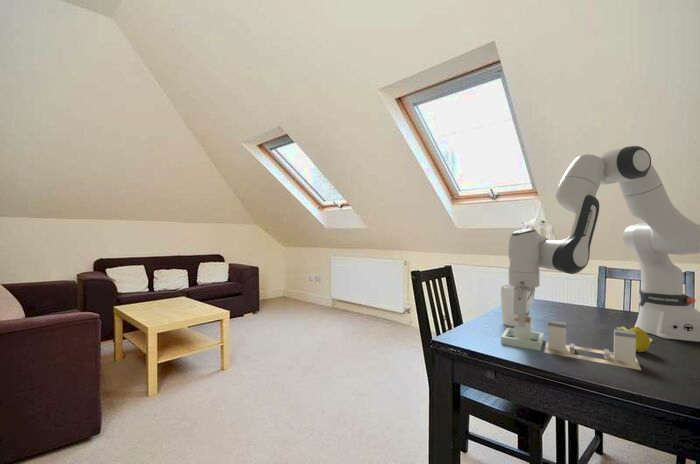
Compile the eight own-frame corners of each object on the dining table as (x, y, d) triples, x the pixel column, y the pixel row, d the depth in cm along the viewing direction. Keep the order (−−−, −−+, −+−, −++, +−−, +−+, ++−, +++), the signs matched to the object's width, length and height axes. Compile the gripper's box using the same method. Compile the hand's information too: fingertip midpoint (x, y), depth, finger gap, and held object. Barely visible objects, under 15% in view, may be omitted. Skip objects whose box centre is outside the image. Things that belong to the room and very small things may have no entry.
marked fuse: (531, 342, 110) (531, 317, 109) (530, 345, 107) (530, 319, 107) (515, 339, 112) (515, 315, 112) (514, 342, 110) (514, 317, 109)
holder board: (635, 358, 97) (635, 356, 97) (641, 373, 88) (641, 370, 88) (546, 343, 110) (546, 341, 110) (544, 355, 101) (544, 352, 101)
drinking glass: (522, 329, 125) (522, 288, 125) (502, 328, 126) (503, 287, 126) (517, 323, 132) (517, 285, 131) (498, 322, 133) (498, 284, 133)
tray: (543, 342, 111) (543, 333, 111) (540, 353, 102) (540, 343, 102) (506, 336, 117) (506, 327, 117) (500, 345, 108) (501, 336, 108)
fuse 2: (633, 360, 95) (634, 331, 94) (635, 364, 92) (636, 334, 92) (613, 356, 97) (613, 328, 97) (614, 360, 95) (615, 331, 94)
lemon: (640, 358, 98) (640, 330, 98) (620, 351, 103) (620, 325, 103) (654, 356, 100) (654, 328, 99) (633, 349, 105) (634, 323, 105)
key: (622, 331, 123) (622, 325, 123) (656, 344, 111) (656, 337, 111) (604, 332, 122) (604, 326, 122) (636, 345, 110) (636, 338, 110)
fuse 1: (565, 348, 103) (566, 322, 103) (565, 351, 101) (565, 325, 101) (548, 345, 106) (548, 320, 106) (548, 348, 103) (548, 322, 103)
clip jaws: (608, 358, 98) (608, 349, 98) (609, 362, 95) (609, 354, 95) (569, 351, 103) (570, 343, 103) (569, 355, 100) (569, 347, 100)
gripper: (531, 286, 99) (531, 333, 99) (537, 276, 116) (537, 316, 116) (507, 284, 102) (507, 329, 102) (517, 274, 119) (517, 313, 119)
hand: (523, 322), depth 109 cm, fingers open, 8 cm apart
